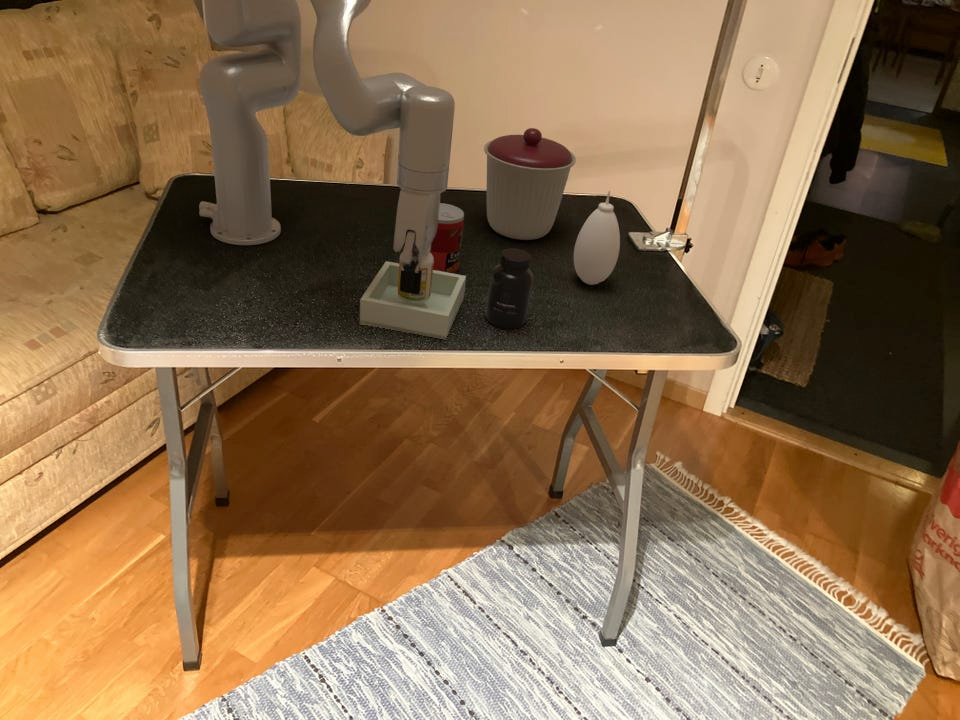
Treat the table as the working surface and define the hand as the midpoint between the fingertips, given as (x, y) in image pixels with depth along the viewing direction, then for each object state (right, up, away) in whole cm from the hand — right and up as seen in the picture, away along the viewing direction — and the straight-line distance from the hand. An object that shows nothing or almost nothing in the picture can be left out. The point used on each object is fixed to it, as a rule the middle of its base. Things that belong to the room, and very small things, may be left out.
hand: (414, 282), depth 120 cm
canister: (+18, +14, +35) cm, 42 cm away
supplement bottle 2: (+15, -6, +4) cm, 16 cm away
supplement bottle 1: (0, -2, +1) cm, 3 cm away
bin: (0, -4, +3) cm, 5 cm away
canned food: (+3, +4, +17) cm, 18 cm away
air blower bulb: (+31, +2, +19) cm, 36 cm away
